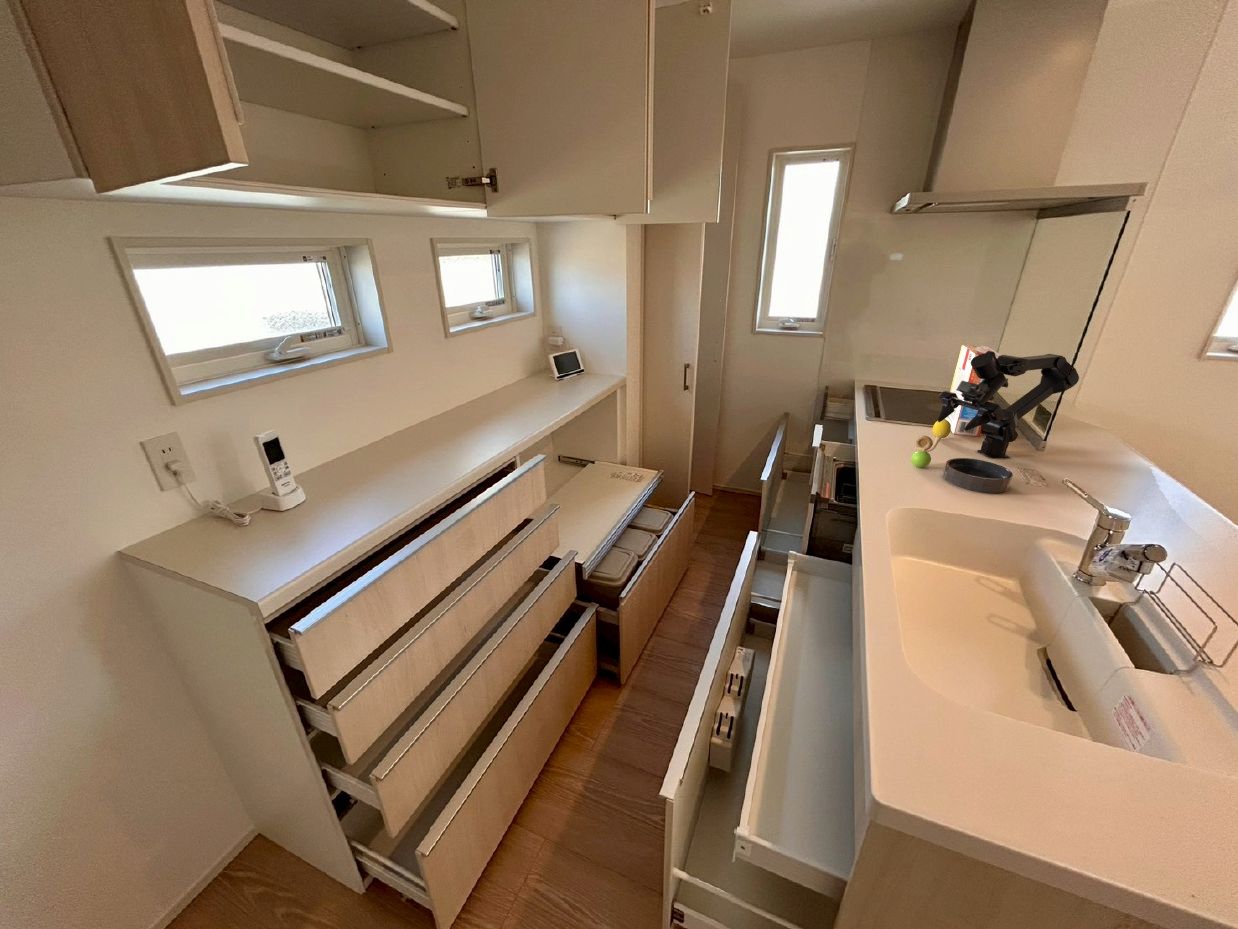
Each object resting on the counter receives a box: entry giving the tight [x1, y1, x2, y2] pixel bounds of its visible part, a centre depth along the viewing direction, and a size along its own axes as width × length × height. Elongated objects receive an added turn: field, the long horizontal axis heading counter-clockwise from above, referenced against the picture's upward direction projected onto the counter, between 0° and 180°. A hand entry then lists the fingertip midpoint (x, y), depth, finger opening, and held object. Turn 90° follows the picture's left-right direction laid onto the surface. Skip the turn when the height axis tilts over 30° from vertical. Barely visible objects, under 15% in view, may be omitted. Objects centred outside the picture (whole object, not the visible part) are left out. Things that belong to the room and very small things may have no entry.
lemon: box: [932, 419, 952, 440], centre depth 181 cm, size 6×6×8 cm
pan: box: [942, 457, 1014, 494], centre depth 147 cm, size 16×16×4 cm
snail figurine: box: [910, 433, 942, 468], centre depth 156 cm, size 5×6×12 cm
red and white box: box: [945, 344, 1001, 437], centre depth 191 cm, size 23×8×30 cm, turn 157°
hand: (951, 425), depth 157 cm, fingers open, 9 cm apart
